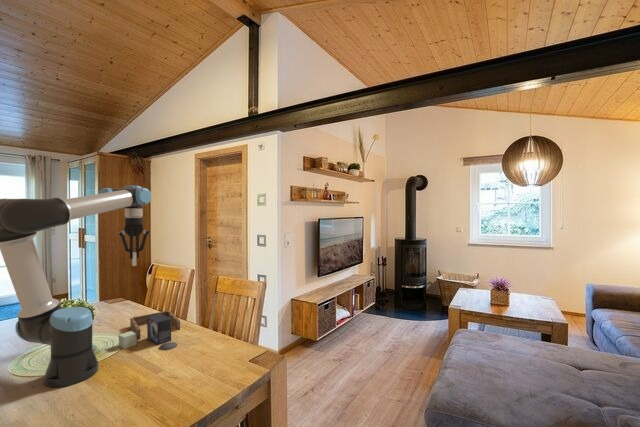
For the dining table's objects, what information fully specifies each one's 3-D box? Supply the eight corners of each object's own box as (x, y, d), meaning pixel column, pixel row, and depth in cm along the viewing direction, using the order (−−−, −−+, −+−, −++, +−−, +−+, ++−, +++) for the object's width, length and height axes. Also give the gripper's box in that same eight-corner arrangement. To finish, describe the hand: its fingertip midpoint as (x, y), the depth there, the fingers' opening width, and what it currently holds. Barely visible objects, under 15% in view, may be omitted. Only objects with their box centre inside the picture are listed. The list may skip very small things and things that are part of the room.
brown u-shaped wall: (180, 329, 151) (180, 320, 151) (137, 339, 139) (137, 330, 139) (169, 318, 166) (169, 310, 166) (130, 326, 154) (130, 318, 154)
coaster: (179, 346, 132) (179, 346, 132) (161, 351, 127) (161, 350, 127) (174, 341, 137) (174, 340, 137) (157, 345, 133) (157, 345, 133)
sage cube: (136, 344, 134) (136, 333, 134) (123, 349, 130) (123, 337, 130) (131, 341, 137) (131, 330, 137) (118, 346, 133) (118, 334, 133)
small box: (146, 339, 139) (145, 316, 139) (160, 334, 145) (160, 313, 144) (157, 345, 133) (157, 322, 133) (171, 340, 138) (171, 317, 138)
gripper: (147, 217, 155) (147, 262, 156) (117, 217, 147) (117, 265, 147) (150, 217, 150) (150, 264, 150) (118, 217, 141) (119, 268, 142)
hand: (134, 265), depth 149 cm, fingers closed
